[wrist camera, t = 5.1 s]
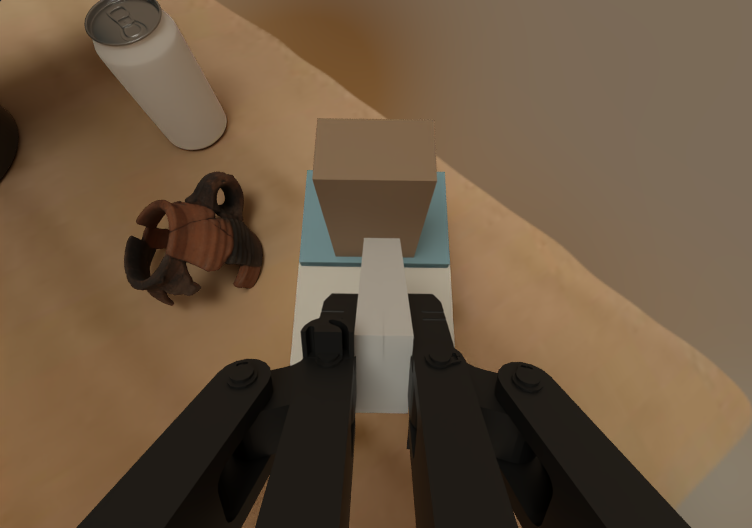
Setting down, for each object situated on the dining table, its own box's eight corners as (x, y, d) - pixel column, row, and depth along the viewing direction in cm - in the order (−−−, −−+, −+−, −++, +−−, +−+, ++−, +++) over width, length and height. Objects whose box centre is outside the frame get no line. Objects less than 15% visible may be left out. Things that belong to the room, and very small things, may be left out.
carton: (434, 382, 30) (462, 381, 20) (313, 380, 30) (285, 378, 20) (428, 229, 34) (449, 170, 25) (323, 228, 34) (304, 168, 25)
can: (187, 163, 36) (102, 63, 25) (156, 124, 38) (63, 13, 27) (240, 130, 38) (182, 20, 27) (208, 93, 39) (141, -25, 28)
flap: (447, 267, 23) (495, 190, 14) (301, 265, 23) (253, 187, 14) (442, 178, 26) (481, 60, 16) (309, 176, 26) (272, 57, 16)
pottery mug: (251, 322, 32) (157, 315, 25) (194, 295, 37) (102, 282, 30) (291, 195, 32) (211, 154, 26) (230, 186, 38) (149, 149, 31)
